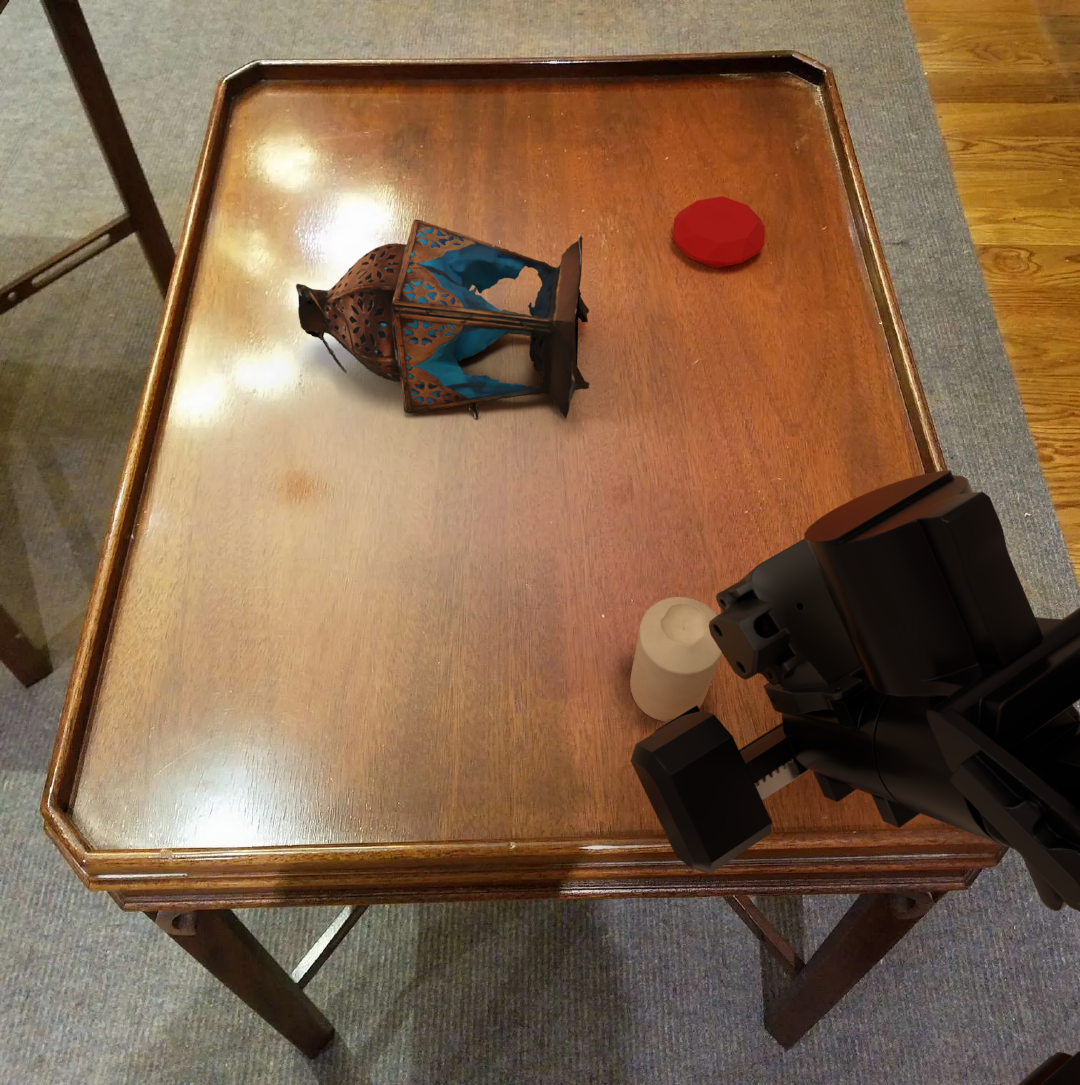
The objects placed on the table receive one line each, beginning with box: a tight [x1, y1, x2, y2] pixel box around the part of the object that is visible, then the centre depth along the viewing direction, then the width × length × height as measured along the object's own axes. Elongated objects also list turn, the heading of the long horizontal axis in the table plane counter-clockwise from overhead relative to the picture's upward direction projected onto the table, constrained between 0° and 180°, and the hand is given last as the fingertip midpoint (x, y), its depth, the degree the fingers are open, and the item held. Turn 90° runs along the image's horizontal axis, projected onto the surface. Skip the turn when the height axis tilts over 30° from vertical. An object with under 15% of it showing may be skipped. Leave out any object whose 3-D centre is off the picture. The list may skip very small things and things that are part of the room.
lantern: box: [295, 218, 590, 420], centre depth 78 cm, size 16×16×25 cm
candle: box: [629, 596, 723, 722], centre depth 62 cm, size 6×6×10 cm
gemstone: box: [671, 195, 766, 269], centre depth 90 cm, size 9×9×3 cm
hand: (736, 687), depth 51 cm, fingers open, 9 cm apart
